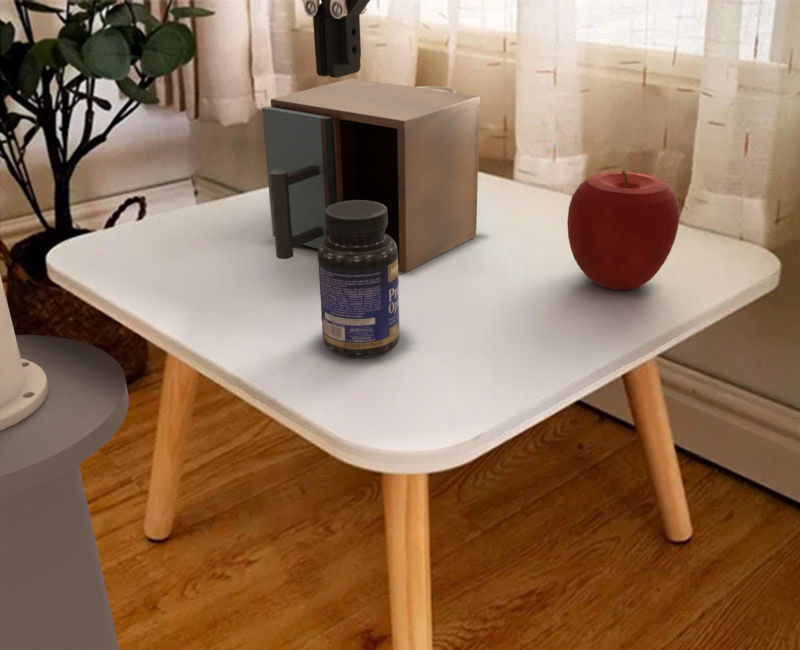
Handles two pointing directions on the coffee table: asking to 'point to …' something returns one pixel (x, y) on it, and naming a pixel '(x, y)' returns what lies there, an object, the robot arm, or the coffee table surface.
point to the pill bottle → (358, 280)
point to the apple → (622, 227)
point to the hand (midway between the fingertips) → (339, 73)
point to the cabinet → (403, 158)
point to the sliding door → (298, 177)
